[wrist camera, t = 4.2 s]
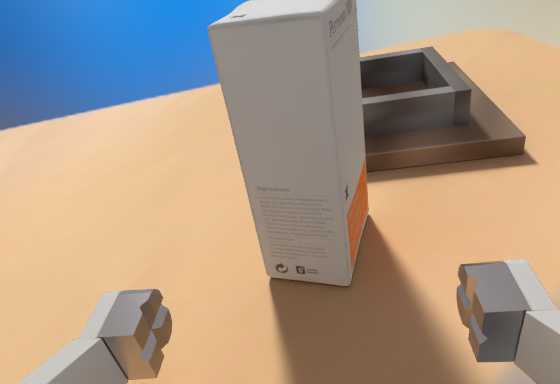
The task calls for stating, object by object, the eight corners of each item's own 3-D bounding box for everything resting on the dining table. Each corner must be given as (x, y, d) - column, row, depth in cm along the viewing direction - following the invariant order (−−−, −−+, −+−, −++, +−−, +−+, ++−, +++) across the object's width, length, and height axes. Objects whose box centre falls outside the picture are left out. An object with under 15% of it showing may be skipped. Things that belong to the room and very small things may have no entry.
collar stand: (282, 181, 28) (272, 132, 26) (290, 98, 40) (284, 60, 38) (523, 153, 26) (532, 98, 24) (452, 74, 38) (455, 34, 36)
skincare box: (353, 290, 19) (323, 11, 13) (266, 279, 21) (199, 25, 14) (372, 210, 24) (357, -24, 17) (300, 206, 25) (261, -10, 19)
